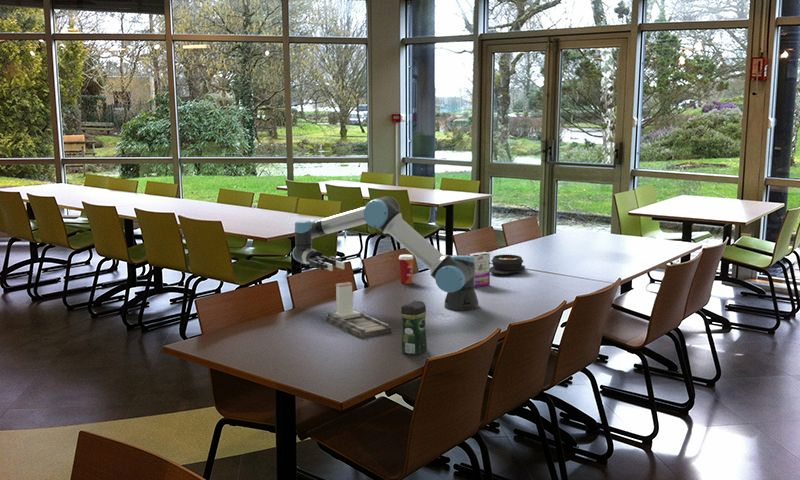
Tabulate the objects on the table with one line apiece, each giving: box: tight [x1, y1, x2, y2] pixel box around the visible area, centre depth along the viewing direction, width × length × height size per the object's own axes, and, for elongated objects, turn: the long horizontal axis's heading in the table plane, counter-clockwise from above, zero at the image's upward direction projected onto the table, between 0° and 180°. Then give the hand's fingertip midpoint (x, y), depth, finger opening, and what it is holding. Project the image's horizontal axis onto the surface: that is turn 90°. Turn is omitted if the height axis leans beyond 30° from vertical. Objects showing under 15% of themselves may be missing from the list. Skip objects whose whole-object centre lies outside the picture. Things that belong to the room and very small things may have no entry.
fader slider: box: [333, 281, 362, 319], centre depth 325 cm, size 7×9×14 cm
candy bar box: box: [465, 251, 491, 288], centre depth 386 cm, size 11×5×16 cm, turn 117°
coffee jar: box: [400, 300, 428, 355], centre depth 285 cm, size 10×8×19 cm
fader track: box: [325, 308, 393, 339], centre depth 319 cm, size 30×14×3 cm, turn 32°
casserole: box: [490, 254, 526, 275], centre depth 417 cm, size 25×19×8 cm
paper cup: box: [398, 254, 415, 285], centre depth 395 cm, size 8×8×14 cm
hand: (337, 267), depth 329 cm, fingers open, 5 cm apart
